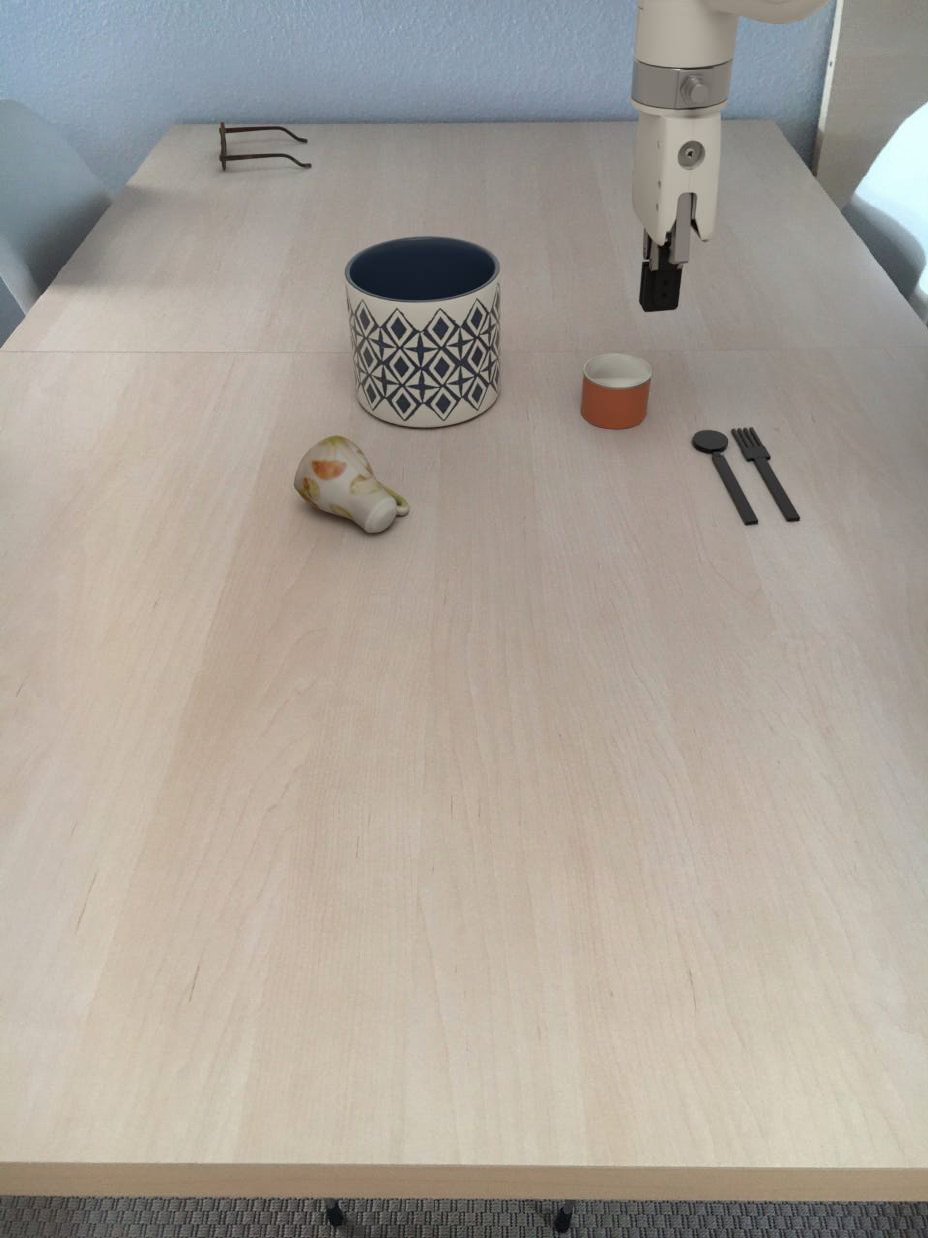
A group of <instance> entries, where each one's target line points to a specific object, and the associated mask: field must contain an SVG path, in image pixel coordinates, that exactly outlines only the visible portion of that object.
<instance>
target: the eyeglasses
mask: <svg viewBox="0 0 928 1238" xmlns="http://www.w3.org/2000/svg"><path fill="white" fill-rule="evenodd" d="M259 131H282V132H284V133H286V134H287V135H288V136H289V137H291V138H292V139H294V140H295V141H297V142H300V143H306V144H307V143H308V142H309V141H308V139H307V138H303V137H299V136H297V135H296V134H295V133H294V132H292V131H290V130H289V129H288V128H286V127H283V126H281V125H280V126H279V125H263V126H239V127H237V126H236V127H226V125H225V122H224V121H221V122H220V127H219V128H218V133H219V135H220V143H219V144H220V147H221V148H220V153H219V157H218V160H219V162H221V167H222V170H223V171H226V168H227V162H232V161H233V162H234V161H244V160H245V161H246V160H257V159H269V158H286V159H288V160H290V161H291V162H293V163H294V164H296V165H297V166H298V167H300V168H305V169H307V168H311V167H312V163H310V162H307V163H304V162H303V163H302V162H300V161H299V160H298V159H296V158H295V157H293V156H292V155H290V154H288V153H281V152H280V153H279V152H278V153H277V152H275V153H273V152H272V153H271V152H269V153H248V154H247V153H245V154H228V155H227V151H228V149H227V139H226V138H227V137H226V134H237V133H249V132H259Z"/></svg>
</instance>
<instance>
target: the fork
mask: <svg viewBox="0 0 928 1238" xmlns="http://www.w3.org/2000/svg"><path fill="white" fill-rule="evenodd" d="M730 432H731V434H732V436H733V438H734V439H735V441H736V442H737V445H738V446H739V448H740V450H741V454H742V455H743V457H744V459H745V461H746V462H752V463H753V464H754V466H755V467H756V469H757V471H758V473H759V475H760V476H761V478H762V480H763V481H764V484H765V485H766V487H767V489H768V491H769V493H770V494H771V496H772V498H773V499H774V501H775V503H776V505H777V506H778V508H779V510H780V512H781V514H782V515H783V517H784V519H785V521H786V522H799V521H801V516H800V515H799V513H798V511H797V510H796V508H795V506H794V504H793V502H792V501H791V499H790V497H789V496H788V493H787V492H786V490H785V488H784V487H783V486H782V483H781V482H780V481H779V479H778V477H777V475H776V473H775V471H774V470H773V467H772V466H771V464H770V463H769V461H770V460H771V459H772V456H771V454H770V453H769V451H768V450H767V447H766V446H765V445H764V444H763V442H762V440H761V438H760V437H759V436H758V434H757V432H756V430H755V429H754V427H753V426H751V427H743V429H742V428H741V427H737V429H736V428H731V429H730Z"/></svg>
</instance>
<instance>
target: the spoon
mask: <svg viewBox="0 0 928 1238" xmlns="http://www.w3.org/2000/svg"><path fill="white" fill-rule="evenodd" d="M691 440H692V441H691V444H692V447H693V448H694V449H695V450H696V451H699V452H701V453H704V454H710V455H711V461H712V462H713V465H714V466H715V468H716V470H717V473H718V475H719V477H720V478H721V481H722V482H723V484H724V486H725V488H726V490H727V492H728V494H729V496H730V498H731V500H732V502H733V503H734V505H735V508H736V510H737V512H738V513H739V515H740V516H741V520H742V521H743V524H744V525H745V526H749V525H750V526H751V525H759V519H758V517H757V515H756V513H755V511H754V510H753V508H752V506H751V504H750V502H749V500H748V498H747V496H746V494H745V492H744V491H743V489H742V487H741V485H740V483H739V481H738V479H737V478H736V475H735V473H734V472H733V470H732V468H731V466H730V464H729V462H728V460H727V459H726V456H725V454H721V453H723V452H725V451H726V450H727V449H728V447H729V441H730V440H729V438H728V436H727V435H726V434H724V433H723V432H720V431H718V430H713V429H704V430H699V431H697V432H695V433H694V435H693V437H692V439H691Z"/></svg>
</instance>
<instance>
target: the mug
mask: <svg viewBox="0 0 928 1238" xmlns="http://www.w3.org/2000/svg"><path fill="white" fill-rule="evenodd" d="M293 487H294V489H295V491H296V492H297V493H298V494H299V495H300V497H301V498H302V499H303V500H304V501H305V502H306V503H308V505H310V506H312V507H313V508H315V509H317V510H320V511H323V512H326V513H329V514H333V515H336V516H340V517H344V518H347V519H349V520H350V521H353V522H354V523H355V524H357V525H358V526H359V527H360V528H362V529H363V530H364V531H365V532H366V533H368V534H369V533H370V534H373V533H381V532H383V531H385V530H386V529H387V528H388V527H390V525H391V524H392V523H393V522H394V520H395V518H396V516H397V515H398V516H401V517H402V516H406V515H407V514H408V513H409V511H410V504H409V502H408V501H407V500H406V499H405V498H404V497H403V496H402V495H400V494H398V493H396V492H395V491H394V490H392V489H390V488H389V487H387V486H386V485H384V484H383V483H382V482H380V480H378V479H377V477H376V475H375V473H374V470H373V469H372V466H371V464H370V462H369V460H368V458H367V456H366V455H365V453H364V451H363V450H362V449H361V447H359V446H358V445H357V444H356V443H355V442H354V441H352V440H350V439H349V438H346V437H345V436H342V435H331V436H328V437H325V438H323V439H322V440H320V441H318V442H317V443H315V444H314V445H313V446H311V447H310V448H309V449H308V450H307V452H305V454H304V455H303V456H302V458H301V460H300V462H299V464H298V467H297V469H296V471H295V475H294V481H293Z"/></svg>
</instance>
